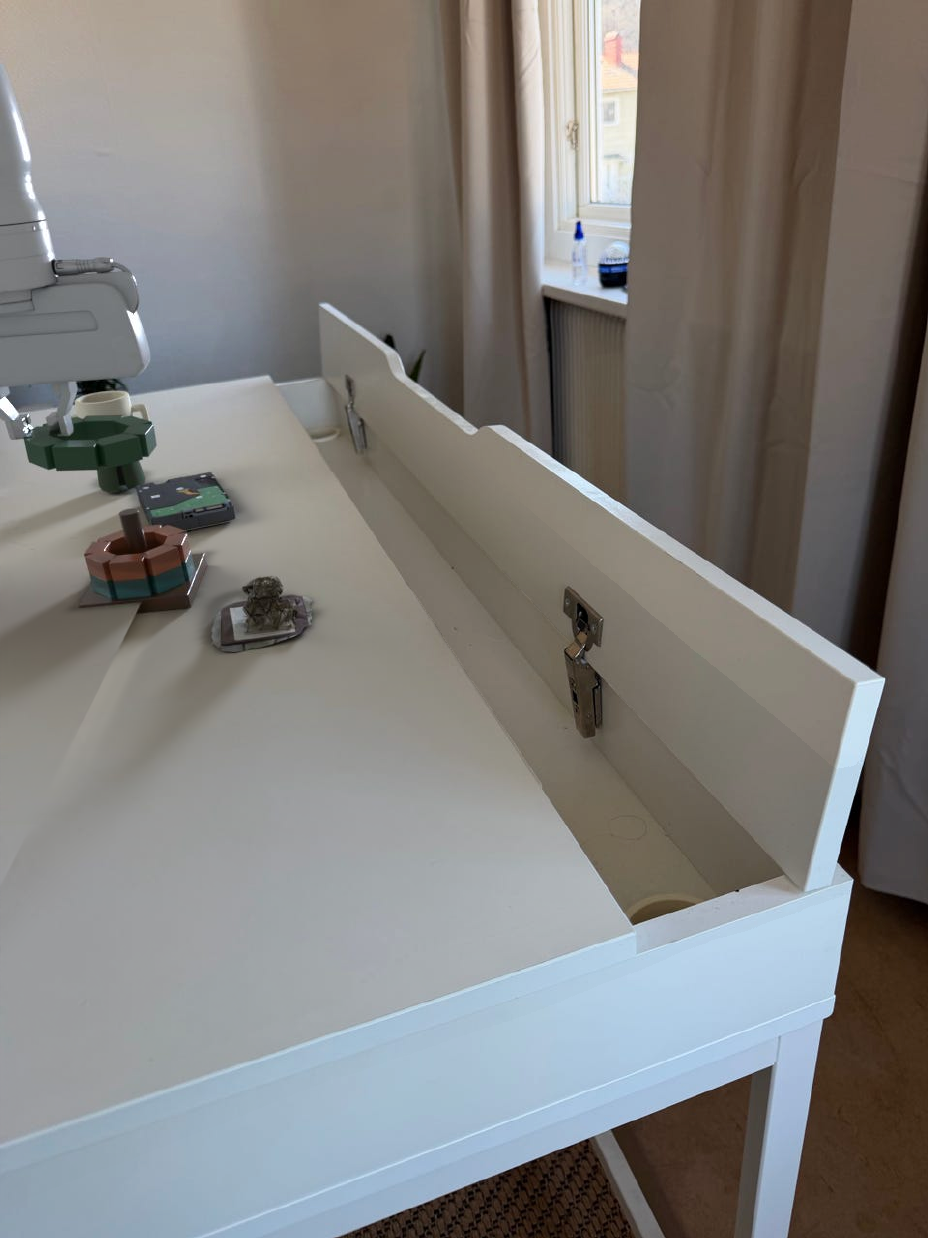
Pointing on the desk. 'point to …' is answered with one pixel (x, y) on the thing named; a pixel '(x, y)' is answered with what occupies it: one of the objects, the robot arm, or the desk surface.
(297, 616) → the figurine on base
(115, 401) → the character mug
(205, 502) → the disk drive
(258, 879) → the desk surface
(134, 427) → the green ring
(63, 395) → the robot arm
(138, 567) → the ring stack
